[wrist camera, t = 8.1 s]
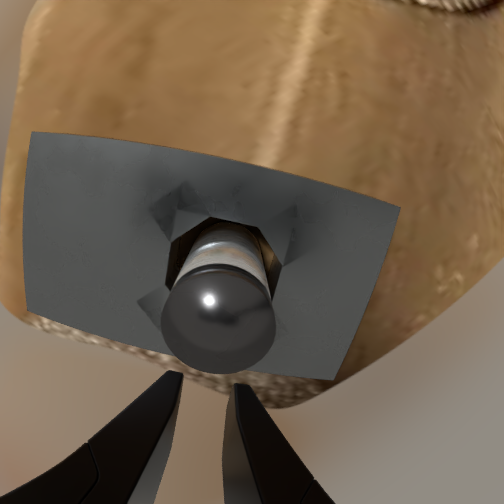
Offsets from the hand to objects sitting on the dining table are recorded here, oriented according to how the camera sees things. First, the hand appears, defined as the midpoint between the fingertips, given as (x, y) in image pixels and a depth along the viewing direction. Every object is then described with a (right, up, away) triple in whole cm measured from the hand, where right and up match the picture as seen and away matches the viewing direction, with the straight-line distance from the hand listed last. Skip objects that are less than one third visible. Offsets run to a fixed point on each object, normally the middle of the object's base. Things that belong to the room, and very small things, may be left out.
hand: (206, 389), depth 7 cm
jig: (-2, +4, +10) cm, 11 cm away
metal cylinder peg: (0, +3, +10) cm, 11 cm away
